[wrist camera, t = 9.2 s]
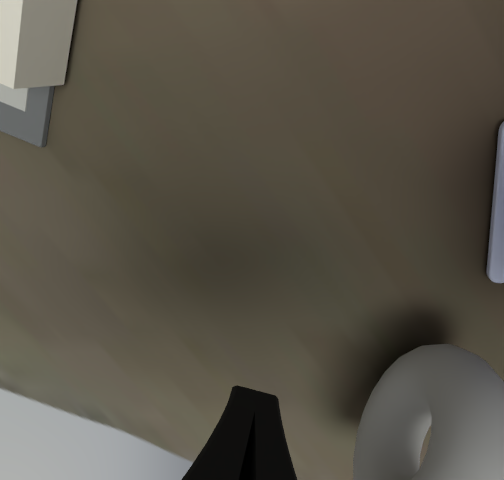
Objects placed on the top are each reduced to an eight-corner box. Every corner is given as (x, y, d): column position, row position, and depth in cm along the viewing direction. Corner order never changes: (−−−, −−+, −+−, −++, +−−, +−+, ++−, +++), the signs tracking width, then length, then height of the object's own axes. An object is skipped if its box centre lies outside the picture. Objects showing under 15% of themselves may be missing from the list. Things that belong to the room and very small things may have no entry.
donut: (426, 295, 21) (514, 469, 12) (483, 322, 21) (610, 511, 12) (335, 413, 25) (348, 606, 16) (382, 434, 26) (422, 637, 16)
